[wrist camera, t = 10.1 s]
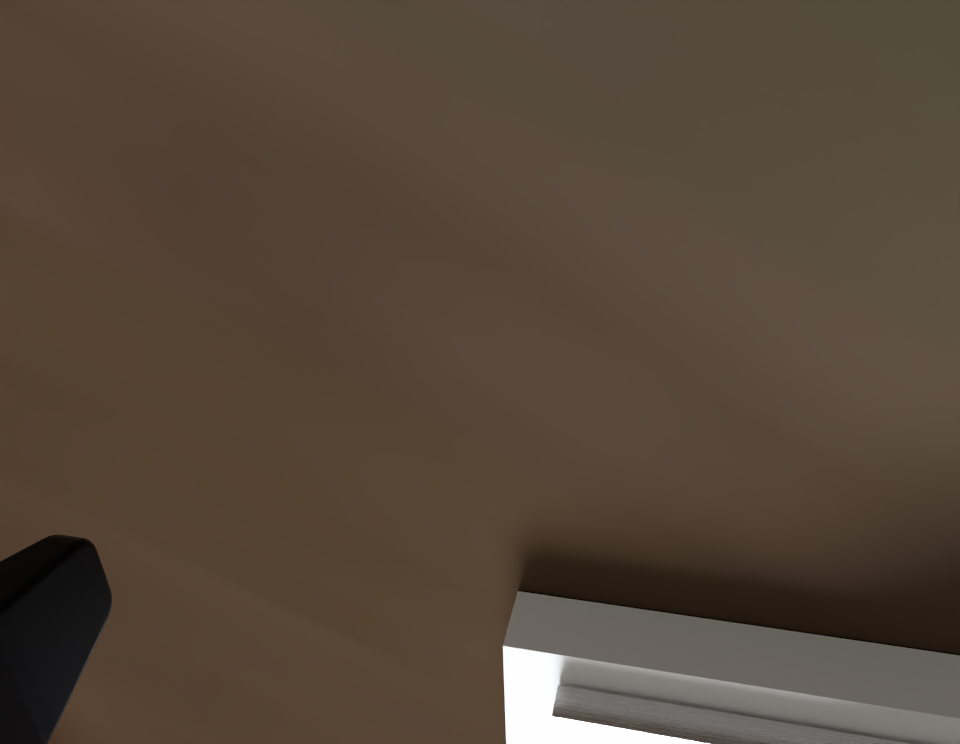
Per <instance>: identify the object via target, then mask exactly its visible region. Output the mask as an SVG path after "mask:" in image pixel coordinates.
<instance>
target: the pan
mask: <svg viewBox="0 0 960 744" xmlns="http://www.w3.org/2000/svg"><path fill="white" fill-rule="evenodd" d="M552 744H911V743H905V742H899V741H893V740H887V739H881V738H875V737H869V736H863V735H857V734H851V733H845V732H839V731H833V730H827V729H821V728H815V727H809V726H803V725H797V724H791V723H785V722H779V721H773V720H767V719H761V718H755V717H749V716H743V715H737V714H731V713H725V712H719V711H713V710H707V709H701V708H695V707H689V706H683V705H677V704H671V703H665V702H659V701H653V700H647V699H641V698H635V697H629V696H623V695H616V694H610V693H604V692H598V691H592V690H586V689H580V688H574V687H568V686H562V685H558V688H557V693H556V698H555V703H554V708H553V713H552Z"/></svg>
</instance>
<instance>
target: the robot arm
mask: <svg viewBox="0 0 960 744" xmlns="http://www.w3.org/2000/svg"><path fill="white" fill-rule="evenodd" d="M111 604H112V594H111V590H110V587H109V584H108V581H107V578H106V575H105V573H104V570H103V567H102V564H101V561H100V558H99V555H98V553H97V550H96V548H95V546H94V544H93V543H92V542H91V541H89V540H87V539H85V538H79V537H72V536H65V535H52V536H48V537H46V538H44V539H42V540H40V541H38V542H36V543H34V544H33V545H31V546H29V547H27V548H25V549H23V550H21V551H19V552H17V553H15V554H14V555H12V556H10V557H8V558H6V559H4V560H2V561H0V744H48V742H49V740H50V738H51V736H52V734H53V732H54V730H55V728H56V726H57V724H58V722H59V720H60V718H61V716H62V714H63V712H64V710H65V708H66V705H67V703H68V701H69V699H70V697H71V695H72V693H73V691H74V689H75V687H76V684H77V682H78V680H79V678H80V676H81V674H82V672H83V670H84V668H85V665H86V663H87V661H88V659H89V657H90V655H91V653H92V651H93V649H94V647H95V644H96V642H97V640H98V638H99V636H100V634H101V632H102V630H103V628H104V625H105V623H106V621H107V619H108V616H109V614H110V610H111Z"/></svg>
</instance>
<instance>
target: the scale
mask: <svg viewBox="0 0 960 744" xmlns="http://www.w3.org/2000/svg"><path fill="white" fill-rule="evenodd" d="M503 664H504V694H505V724H506V744H552V713H553V708H554V703H555V698H556V693H557V688H558V685H562V686H568V687H574V688H580V689H586V690H592V691H598V692H604V693H610V694H616V695H623V696H629V697H635V698H641V699H647V700H653V701H659V702H665V703H671V704H677V705H683V706H689V707H695V708H701V709H707V710H713V711H719V712H725V713H731V714H737V715H743V716H749V717H755V718H761V719H767V720H773V721H779V722H785V723H791V724H797V725H803V726H809V727H815V728H821V729H827V730H833V731H839V732H845V733H851V734H857V735H863V736H869V737H875V738H881V739H887V740H893V741H899V742H905V743H911V744H960V655H953V654H946V653H939V652H932V651H925V650H918V649H912V648H905V647H898V646H891V645H884V644H877V643H870V642H864V641H857V640H850V639H843V638H836V637H829V636H822V635H815V634H809V633H802V632H795V631H788V630H781V629H774V628H767V627H761V626H754V625H747V624H740V623H733V622H726V621H719V620H712V619H706V618H699V617H692V616H685V615H678V614H671V613H664V612H658V611H651V610H644V609H637V608H630V607H623V606H616V605H609V604H603V603H596V602H589V601H582V600H575V599H568V598H561V597H555V596H548V595H541V594H534V593H527V592H520V591H518V592H517V595H516V599H515V603H514V607H513V610H512V614H511V618H510V621H509V625H508V629H507V632H506V636H505V640H504V644H503Z"/></svg>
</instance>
